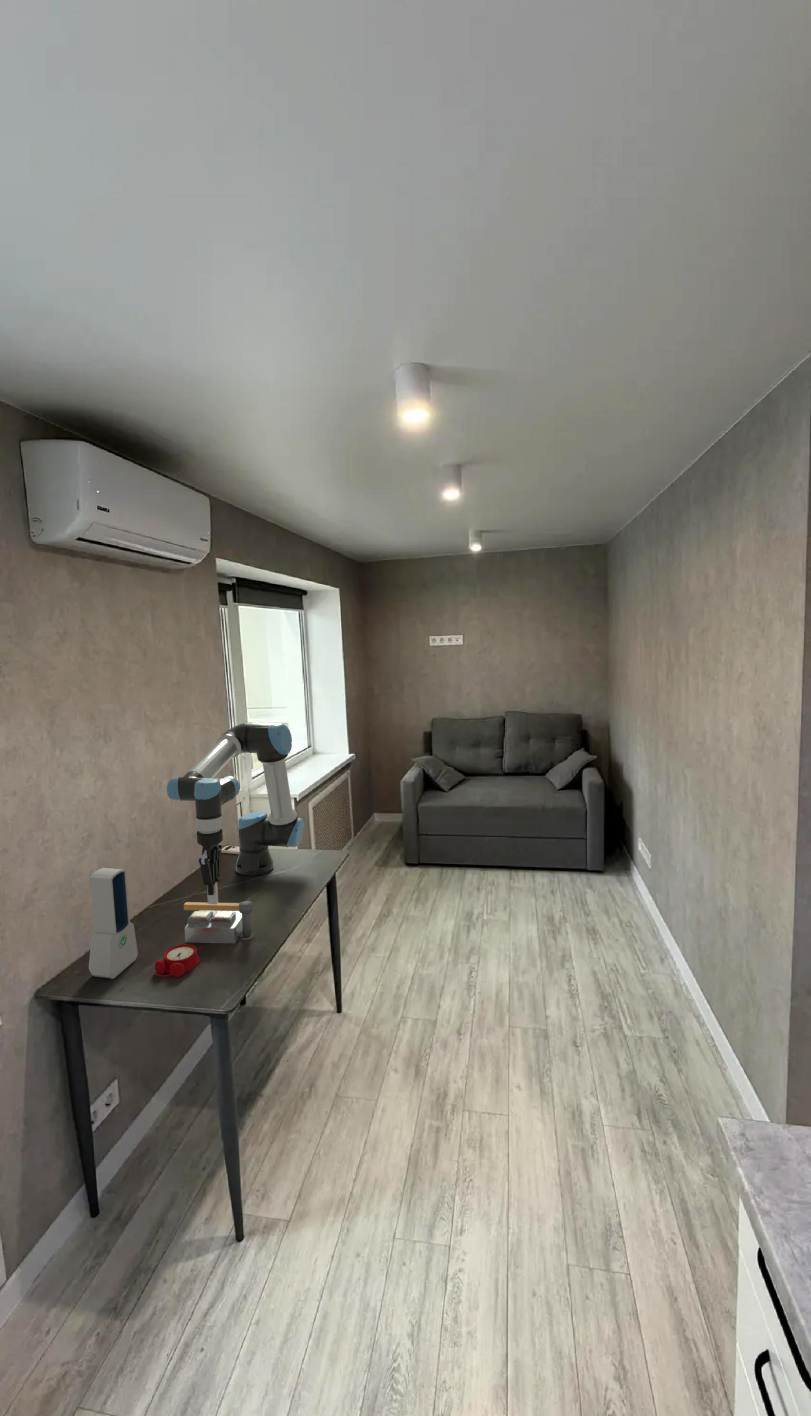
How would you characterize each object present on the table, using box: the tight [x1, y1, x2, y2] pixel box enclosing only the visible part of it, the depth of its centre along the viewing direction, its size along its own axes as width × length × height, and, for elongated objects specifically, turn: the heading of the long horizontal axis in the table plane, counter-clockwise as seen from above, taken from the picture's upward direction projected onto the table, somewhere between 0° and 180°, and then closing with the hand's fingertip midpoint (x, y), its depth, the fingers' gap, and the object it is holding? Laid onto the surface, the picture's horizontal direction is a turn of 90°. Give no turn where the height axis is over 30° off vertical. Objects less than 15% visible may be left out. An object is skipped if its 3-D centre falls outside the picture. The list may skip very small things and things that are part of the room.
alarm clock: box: [154, 943, 204, 978], centre depth 178 cm, size 10×6×15 cm
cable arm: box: [183, 900, 253, 937], centre depth 195 cm, size 22×4×11 cm, turn 86°
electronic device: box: [88, 867, 139, 980], centre depth 176 cm, size 12×8×30 cm, turn 168°
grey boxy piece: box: [184, 910, 256, 945], centre depth 197 cm, size 12×21×7 cm, turn 86°
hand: (213, 903), depth 188 cm, fingers closed
